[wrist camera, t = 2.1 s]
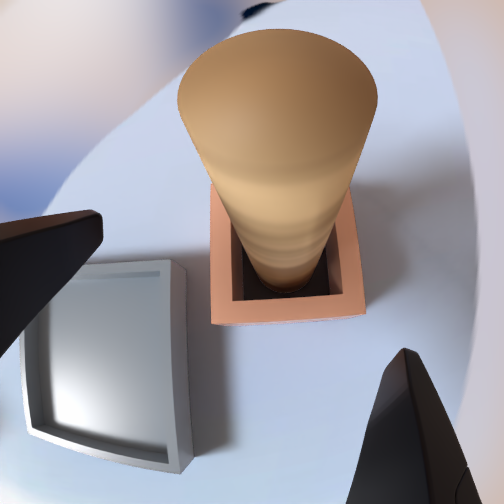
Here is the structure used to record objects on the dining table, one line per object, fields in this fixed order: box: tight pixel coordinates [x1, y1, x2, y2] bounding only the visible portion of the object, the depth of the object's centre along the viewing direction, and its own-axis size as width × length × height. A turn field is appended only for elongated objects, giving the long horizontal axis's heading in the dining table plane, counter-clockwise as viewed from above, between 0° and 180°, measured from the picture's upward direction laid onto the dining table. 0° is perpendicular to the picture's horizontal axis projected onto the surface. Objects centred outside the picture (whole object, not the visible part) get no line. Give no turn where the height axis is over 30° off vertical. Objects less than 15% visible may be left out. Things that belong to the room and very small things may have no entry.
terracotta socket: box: [210, 184, 366, 326], centre depth 16 cm, size 7×7×4 cm
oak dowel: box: [177, 29, 378, 293], centre depth 11 cm, size 4×4×14 cm
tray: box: [19, 259, 194, 474], centre depth 16 cm, size 12×12×3 cm
